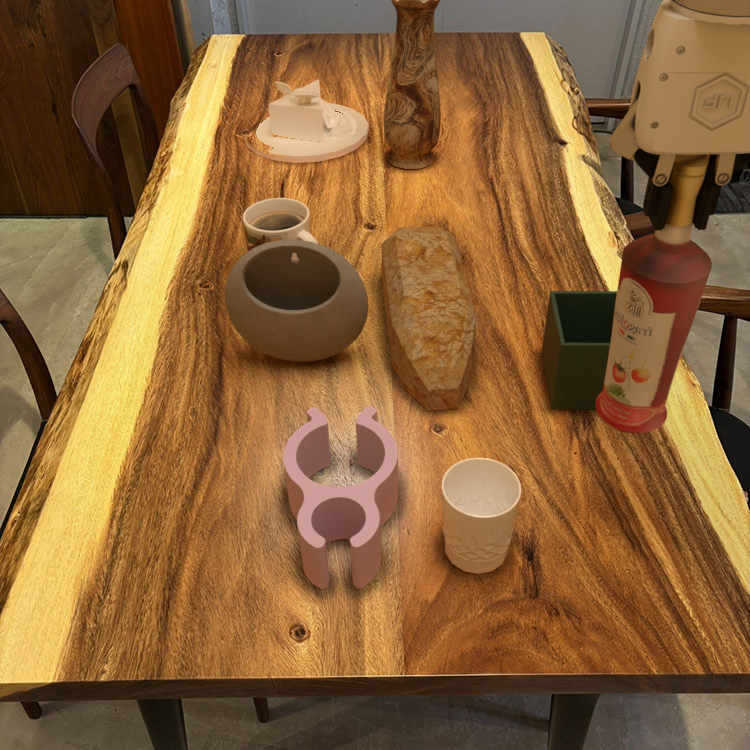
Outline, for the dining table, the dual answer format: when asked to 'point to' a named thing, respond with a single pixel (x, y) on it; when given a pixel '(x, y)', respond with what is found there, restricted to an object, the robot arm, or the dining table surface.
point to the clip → (341, 496)
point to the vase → (413, 87)
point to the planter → (296, 300)
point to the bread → (428, 315)
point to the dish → (309, 127)
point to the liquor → (655, 309)
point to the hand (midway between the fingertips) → (675, 220)
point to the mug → (277, 222)
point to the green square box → (577, 347)
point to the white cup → (479, 513)
